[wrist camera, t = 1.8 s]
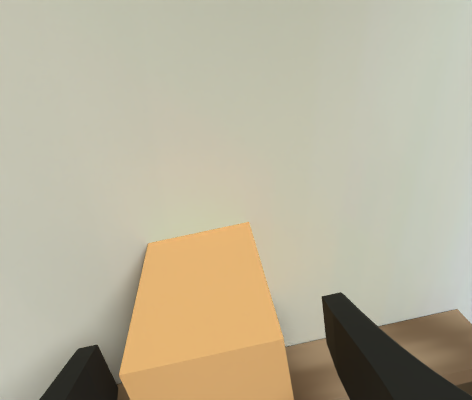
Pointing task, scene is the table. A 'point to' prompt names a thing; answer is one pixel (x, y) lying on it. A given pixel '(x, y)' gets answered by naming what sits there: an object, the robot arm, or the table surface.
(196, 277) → the block
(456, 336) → the walled box
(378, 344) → the robot arm
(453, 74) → the table surface
